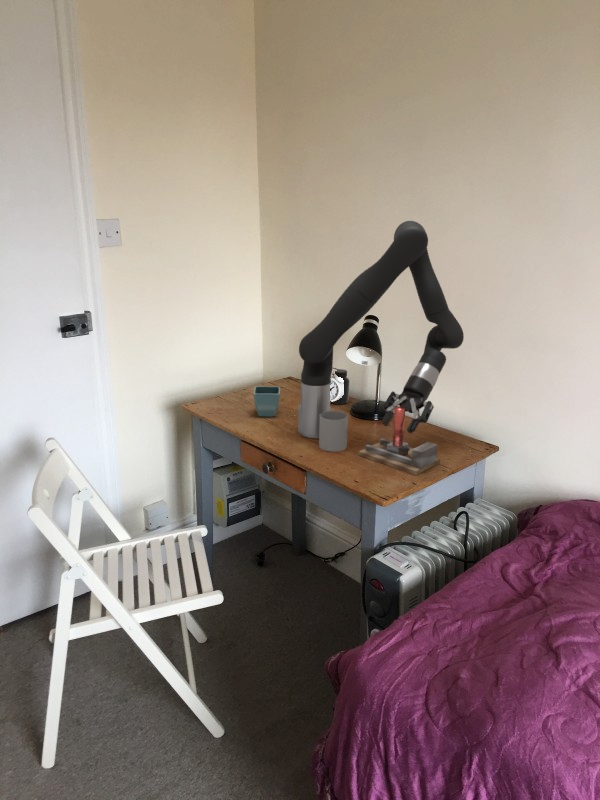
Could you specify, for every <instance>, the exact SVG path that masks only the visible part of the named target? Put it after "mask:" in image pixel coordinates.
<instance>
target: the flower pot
mask: <svg viewBox="0 0 600 800" xmlns="http://www.w3.org/2000/svg"><path fill="white" fill-rule="evenodd" d="M280 396H281V387H280V386H268V385H267V386H260V385H259V386H258V385H257V386H254V391H253V399H254V407H255V410H256V412H257V415H258V416H259V417H269V418H270V417H273V418H274V417H275V415H276V414H277V413H278V409H279V405H280Z"/></svg>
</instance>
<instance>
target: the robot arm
mask: <svg viewBox="0 0 600 800" xmlns="http://www.w3.org/2000/svg"><path fill="white" fill-rule="evenodd" d="M428 245H429V237H428V234H427V232H426V229H425V227H424V226H423V225H422V224H421V223H419V222H417V221H414V220H407V221H403V222H402V223H400V224H399V225H398V226H397V227H396V229H395V232H394V233H393V241H392V242H391V244H390V245H389V247H388V248H387V250H385V252H384V253H383V254H382V256H381V257H380V258H379V259H378V260H377V261H376V262H375V263H374V264H372V265H371V266H369V267H368V268H367V269H365V270H363V271H362V272H361V273H360V274H359V275H358V276H357V277H356V278H355V279H354V280H353V281H352V282H351V283H350V284H349V285H348V286H347V288H346V289H345V290H344V291H343V292H342V294H341V295H340V296H339V298H338V299H337V300H336V302H335V303H334V305H333V306H332V307H331V308H330V310H329V311H328V313H327V314H326V315H325V317H324V318H323V319H322V320H321V322H319V323H318V324H317V325H316V326H315V327H314V328H313V329H312V330H311V331H309V332H308V333H307V334H306V335H305V336H304V337H302V339H301V340H300V342H299V346H298V353H299V357H300V358H301V359H302V361H303V367H302V369H301V370H302V371H301V374H300V403H298V405H297V406H298V407H297V409H298V411H297V416H298V417H297V421H298V422H297V423H298V425H297V428H298V429H297V430H298V431H297V432H298V433H300V435H301V436H302V437H305V438H308V439H309V438H310V439H319V422H320V414H321V413H323V412H326V411H331V402H330V385H331V379H332V372H333V363H334V361H333V360H334V346H335V345H336V344H337V342H338V341H339V340H340V338H341V337H342V336H344V334H346V333H347V332H348V331H349V330H350V329H351V328H352V327H353V326H355V325H356V324H357V323H358V322H360V321H361V319H362V318H363V317H365V315H367V313H368V312H370V310H371V309H372V308H373V307H374V306H375V305H376V304H377V303H378V302H379V300H380V299H381V298H382V296H384V294H386V292H387V291H388V290H389V289H390V288H391V286H392V284H393V283H394V282H395V281H396V280H397V278H399V276H400V275H401V274H402V273H404V272H405V270H407V269H408V268H409V271H410V274H411V275H412V280H413V282H414V286H415V289H416V293H417V295H418V299H419V302H420V304H421V309H422V311H423V313H424V316H425V319H426V320H427V321H428V322H430V323H433V324H435V326H433V327H432V328H431V329H430V331H429V332H428V334H427V337H426V342H425V345H424V350H423V354H421V357H420V359H419V360H418V363H417V365H416V366H415V367H414V368H413V370H412V372H411V374H410V375H409V377H408V379H407V381H406V382H405V384H404V387H403V390H402V392H401V393H400V394H398V393H396V392H395V391H393V390H392V391H391V393H390V394H389V395H388V396H387V399H386V401H384V403H383V405H382V408H383V409H384V410H385V414H384V416H383V418H382V419H381V420H382V424H383V426H386V427H388V426H389V424H390V421H391V420H392V418H393V416H394V410H395V407H397V406H401V407H404V408H405V413H406V412H407V413H409V414H412V415H413V418H412V419H411V421H410V423H409V425H408V427H407V428H406V431H407V433H408V434H413V433H415V432H416V430H417V427H418V426H419V424H421V423H424V424H426V423H427V422H428V421H429V419H430V416H431V414H432V412H433V410H434V408H435V406H434V404H433V403H432V401H431V400H428V399H429V396H430V394H431V393H432V391H433V390H434V388H435V385H436V384H437V382H438V379H439V376H440V374H441V372H442V370H443V368H444V366H445V364H446V362H447V357H446V355H445V354H444V352H442V349H452V350H453V349H458V348H460V346H462V345H463V342H464V330H463V328H462V325H461V324H460V323H459V322H458V319H457V318H456V317H455V316H454V314H453V312H452V311H451V310H450V308H449V306H448V302H447V300H446V296H445V293H444V291H443V288H442V286H441V284H440V282H439V279H438V277H437V275H436V273H435V270H434V268H433V265H432V262H431V259H430V255H429V252H428ZM427 400H428V401H427ZM422 408H423V410H422V412H420V409H422Z"/></svg>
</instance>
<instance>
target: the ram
mask: <svg viewBox="0 0 600 800" xmlns="http://www.w3.org/2000/svg"><path fill="white" fill-rule="evenodd" d="M405 414H406V412H405V408H404V407H401V406H399V405H398V406H397V407H395V410H394V414H393V428H392V429H393V431H392V441H393V442H391V443H389V444H387V451H389V452H392V453H395V454H398V455H401V456H403V455H405V454H407V453H408V447H409V443H408V442H406V441H404V435H405V433H404V432H405V419H406V415H405Z"/></svg>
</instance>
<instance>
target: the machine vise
mask: <svg viewBox="0 0 600 800" xmlns="http://www.w3.org/2000/svg"><path fill="white" fill-rule="evenodd" d="M391 442H393V440H390V439H385V438H383V437H382V438H379V442H378V443H374V444H372V445H371V444H366V445H365V448H363V449H361V450H358V456H359V457H362V458H363V457H364V458H366V459H368V460H371V461H374V462H377V463H380V464H383V465H385V466H389V467H392V468H395V469H397V470H399V471H402V472H405V473H409V474H412V475H414V476H417V475H419V474H421V473H423V472H425V471H426V470H429V469H430V468H432V467H434V466H436V465H437V464H438V465H439V463H440V461H441V458H438V457H437V450H438V444H437V443H434V442H430V441H426V442H425V443H422V444H420V445H419V446H416V447H411V446H408V453H407V454H405V455H403V456H401V455H398V454H395V453H392V452H389V451H387V444H389V443H391Z"/></svg>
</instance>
